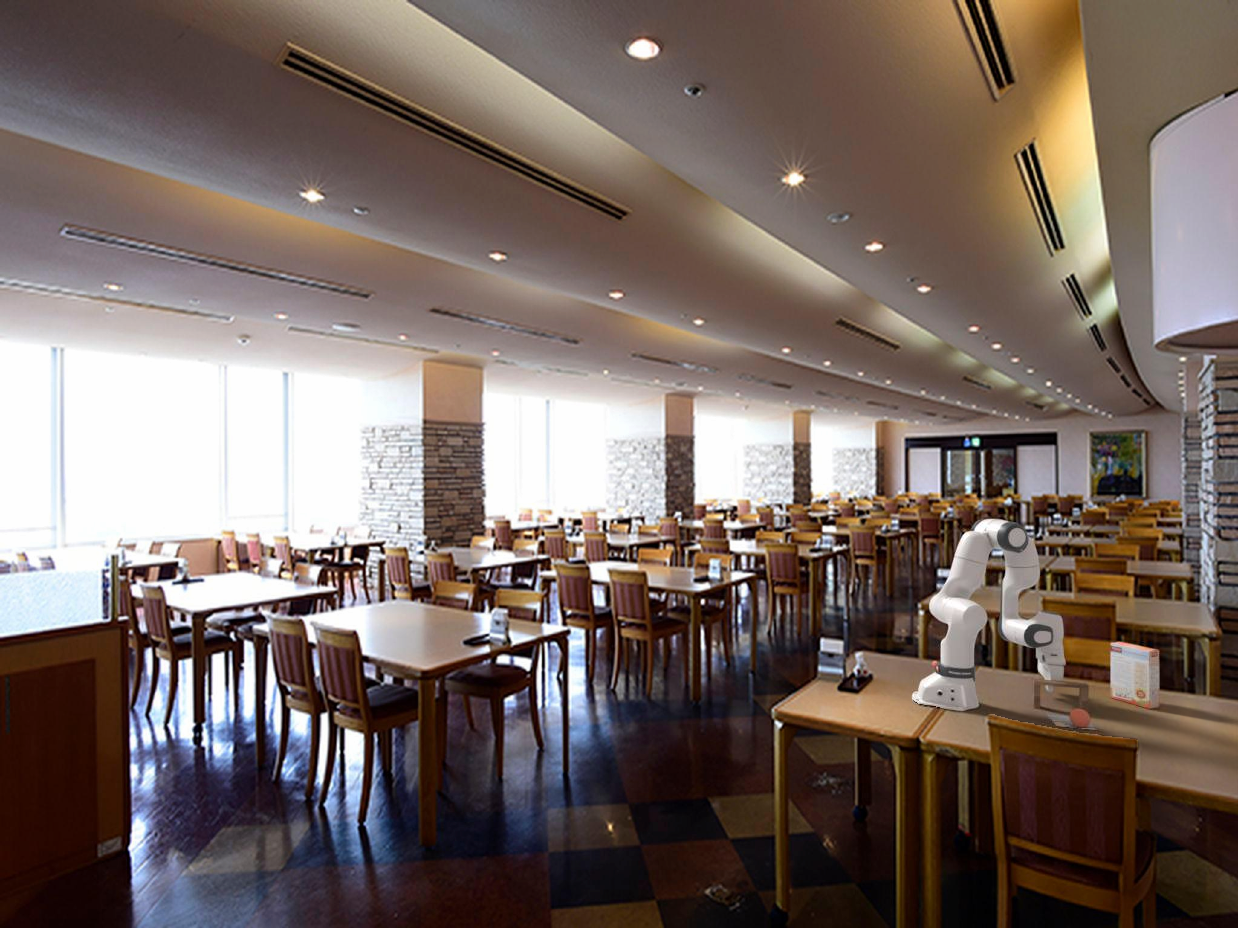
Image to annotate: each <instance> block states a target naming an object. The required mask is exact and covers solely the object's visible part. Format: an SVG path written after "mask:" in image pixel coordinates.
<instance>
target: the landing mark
mask: <svg viewBox="0 0 1238 928" xmlns="http://www.w3.org/2000/svg"><path fill="white" fill-rule="evenodd" d="M1046 716H1047V717H1048V718H1049V720H1050V719H1051V720H1053V719H1054V720H1062V721H1051V720H1050V721H1051V722H1052V723H1053V722H1062V723H1065V724H1064V725H1069V728H1068V729H1073V728H1078V729H1077V730H1081V729H1080V727H1075V725H1073V724H1072V723H1071V721H1070V719H1069V715H1059V714H1049V713H1046ZM1090 726H1094V725H1093V723H1092V722H1090V724H1089V725H1088V726H1087V727H1084V728H1095V730H1098V728H1096V727H1095V726H1094V727H1090ZM1088 731H1094V729H1089V730H1088Z"/></svg>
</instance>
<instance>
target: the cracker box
mask: <svg viewBox="0 0 1238 928" xmlns="http://www.w3.org/2000/svg"><path fill="white" fill-rule="evenodd" d="M1110 698H1111V699H1114V700H1116V701H1117V700H1118V701H1121V702H1124V703H1128V704H1130V705H1135V706H1139V707H1142V708H1145V709H1147V708H1148V709H1147V710H1151V709H1156V708H1157V709H1158V708H1160V650H1159V649H1156V648H1152V647H1151V648H1150V647H1147V646H1142V645H1137V644H1132V643H1129V642H1124V641H1116V642H1110Z"/></svg>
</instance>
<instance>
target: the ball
mask: <svg viewBox="0 0 1238 928" xmlns="http://www.w3.org/2000/svg"><path fill="white" fill-rule="evenodd" d="M1068 716H1069V719H1070V721H1071V723H1072V724H1073V725H1075V726H1076V727H1080V728H1084V727H1087V726H1088V725H1089V724H1090V723H1091V715H1090V714H1089V713H1087V712H1086V711H1085V710H1082V709H1079V708H1074V709H1072V710H1071V711H1070V712H1069V715H1068Z"/></svg>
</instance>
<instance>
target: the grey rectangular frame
mask: <svg viewBox="0 0 1238 928" xmlns="http://www.w3.org/2000/svg"><path fill="white" fill-rule="evenodd" d="M1046 685H1048V686H1054V687H1062V688H1072V689H1073V688H1074V689H1079V694H1078V695H1079V697H1078V698H1079V700H1078V701H1079V708H1078V709H1082V710H1085V711H1086V712H1087V713H1088V714H1089V713H1090V712H1089V710H1090V709H1089V707H1090V706H1089V699H1090V698H1089V695H1090V694H1089V689H1090V688H1089V685H1088V683H1087V682H1077V681H1065V680H1063V681H1055V680H1045V679H1044V678H1042V679H1041V678H1031V706H1032V707H1033V708H1034V709H1041V686H1046Z"/></svg>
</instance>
